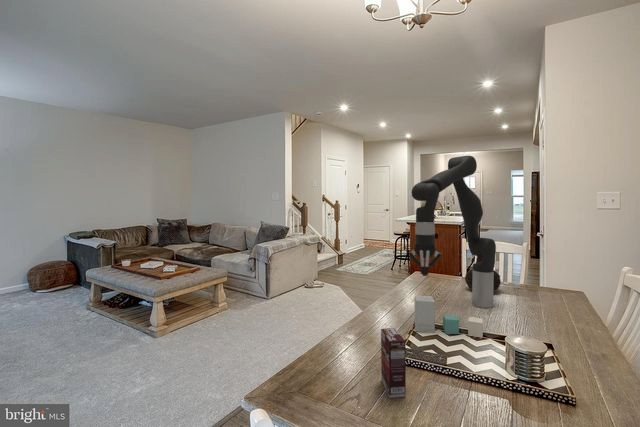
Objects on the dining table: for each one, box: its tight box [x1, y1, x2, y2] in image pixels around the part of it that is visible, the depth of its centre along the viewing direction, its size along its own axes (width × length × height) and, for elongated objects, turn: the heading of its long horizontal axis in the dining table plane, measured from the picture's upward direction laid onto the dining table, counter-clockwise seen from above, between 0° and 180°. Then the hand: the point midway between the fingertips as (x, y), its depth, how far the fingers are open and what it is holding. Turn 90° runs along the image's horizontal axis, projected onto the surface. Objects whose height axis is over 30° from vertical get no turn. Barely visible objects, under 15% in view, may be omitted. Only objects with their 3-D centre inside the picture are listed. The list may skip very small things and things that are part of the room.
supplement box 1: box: [380, 327, 407, 399], centre depth 92 cm, size 9×5×16 cm, turn 5°
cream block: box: [467, 316, 484, 337], centre depth 127 cm, size 5×5×6 cm
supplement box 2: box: [414, 295, 436, 334], centre depth 133 cm, size 7×7×13 cm
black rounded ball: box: [464, 256, 502, 293], centre depth 183 cm, size 18×18×28 cm
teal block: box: [442, 314, 460, 335], centre depth 130 cm, size 5×5×6 cm
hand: (424, 275), depth 132 cm, fingers closed
